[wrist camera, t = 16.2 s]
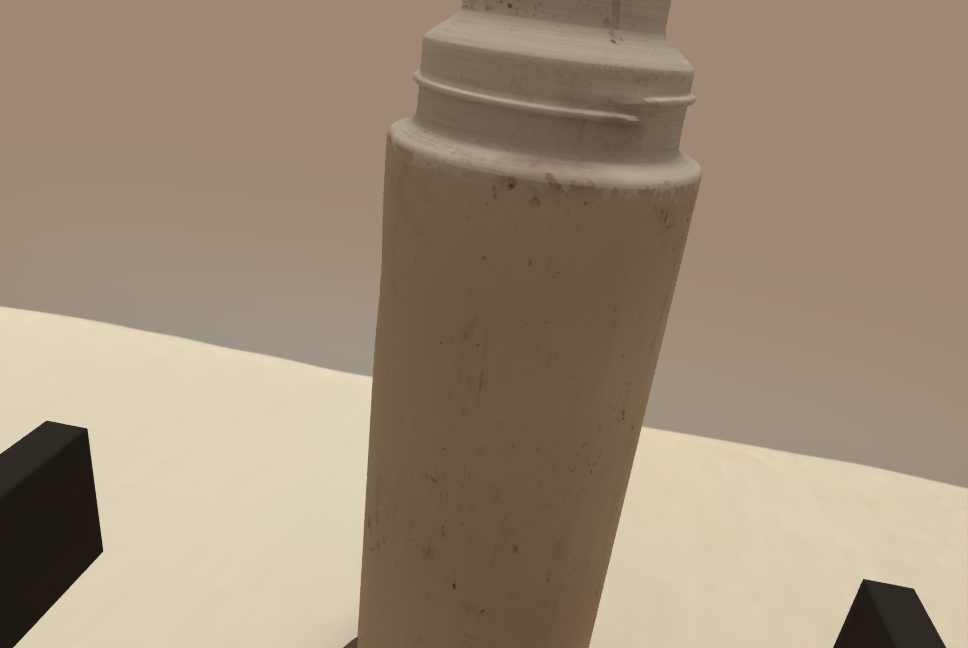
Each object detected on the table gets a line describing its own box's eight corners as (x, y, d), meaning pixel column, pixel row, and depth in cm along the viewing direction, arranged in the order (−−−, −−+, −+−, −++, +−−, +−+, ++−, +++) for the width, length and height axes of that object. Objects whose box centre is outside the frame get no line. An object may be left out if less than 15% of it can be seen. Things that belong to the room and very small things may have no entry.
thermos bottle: (356, 647, 30) (401, -117, 19) (540, 645, 31) (685, -75, 20) (345, 851, 23) (406, -185, 12) (583, 838, 24) (847, -112, 13)
